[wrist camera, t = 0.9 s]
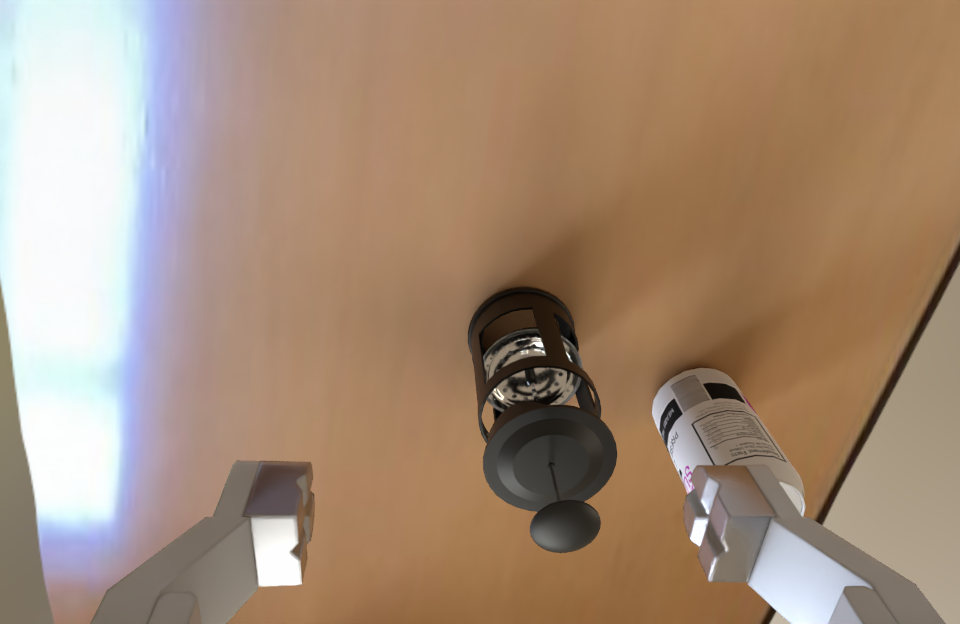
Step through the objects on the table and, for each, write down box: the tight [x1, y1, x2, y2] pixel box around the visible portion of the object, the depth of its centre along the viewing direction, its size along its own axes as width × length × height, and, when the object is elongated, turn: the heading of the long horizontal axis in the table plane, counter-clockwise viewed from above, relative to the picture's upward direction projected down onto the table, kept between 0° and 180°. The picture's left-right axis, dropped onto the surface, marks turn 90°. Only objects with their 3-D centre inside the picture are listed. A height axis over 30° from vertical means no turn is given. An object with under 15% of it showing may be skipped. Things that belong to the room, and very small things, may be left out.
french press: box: [468, 287, 617, 553], centre depth 50 cm, size 12×9×23 cm
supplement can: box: [652, 368, 806, 517], centre depth 58 cm, size 8×8×15 cm
